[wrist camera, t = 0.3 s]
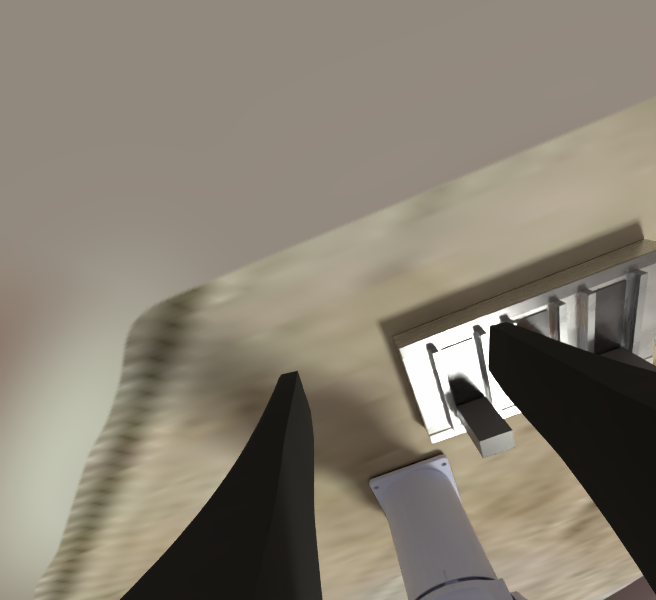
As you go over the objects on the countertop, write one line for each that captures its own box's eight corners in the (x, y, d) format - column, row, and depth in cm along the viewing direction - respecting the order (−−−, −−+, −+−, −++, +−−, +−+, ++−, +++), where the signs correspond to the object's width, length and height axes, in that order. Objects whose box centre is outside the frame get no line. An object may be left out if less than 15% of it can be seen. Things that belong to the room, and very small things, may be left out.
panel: (632, 354, 26) (660, 370, 24) (425, 428, 27) (435, 449, 25) (645, 239, 21) (681, 247, 19) (392, 336, 22) (402, 353, 20)
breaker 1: (488, 412, 25) (514, 447, 22) (460, 422, 25) (483, 458, 22) (485, 396, 24) (512, 430, 21) (456, 406, 24) (479, 441, 21)
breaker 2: (620, 365, 24) (666, 395, 21) (590, 375, 24) (632, 406, 21) (622, 346, 23) (670, 374, 20) (591, 357, 23) (635, 387, 20)
